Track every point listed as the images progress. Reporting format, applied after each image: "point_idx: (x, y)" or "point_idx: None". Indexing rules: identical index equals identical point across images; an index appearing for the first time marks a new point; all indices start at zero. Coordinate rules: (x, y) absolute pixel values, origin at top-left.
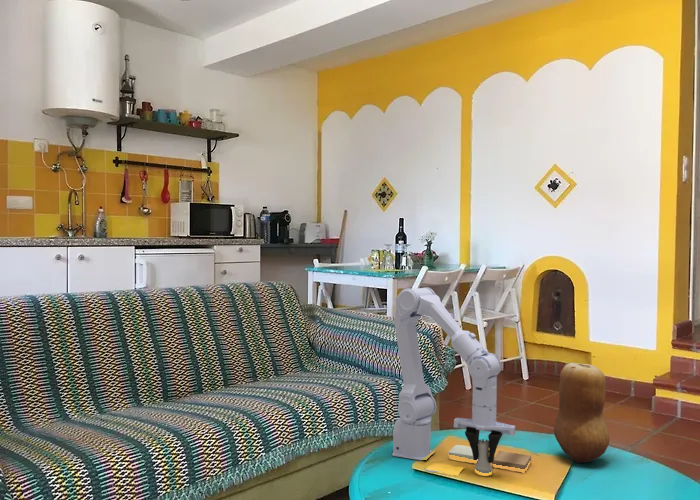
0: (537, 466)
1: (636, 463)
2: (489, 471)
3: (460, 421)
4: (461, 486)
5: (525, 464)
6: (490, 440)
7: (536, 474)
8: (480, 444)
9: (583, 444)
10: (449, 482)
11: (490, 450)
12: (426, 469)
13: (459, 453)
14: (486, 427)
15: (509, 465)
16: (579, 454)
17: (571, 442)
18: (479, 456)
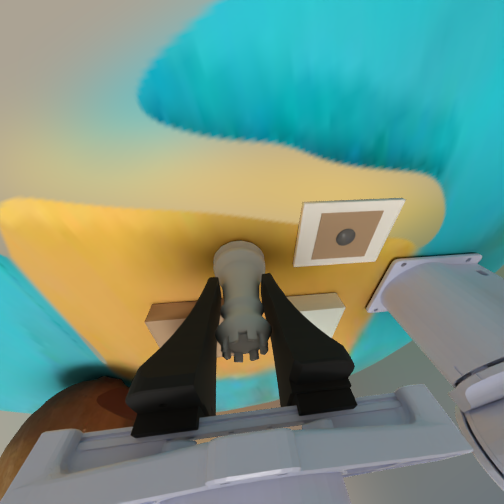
0: (154, 341)
1: (37, 404)
2: (217, 259)
3: (425, 448)
4: (274, 109)
5: (147, 325)
6: (191, 352)
7: (128, 310)
8: (253, 324)
9: (36, 429)
10: (323, 131)
11: (205, 309)
12: (403, 200)
13: (317, 311)
14: (202, 469)
15: (187, 312)
16: (69, 396)
17: (66, 426)
18: (253, 286)
